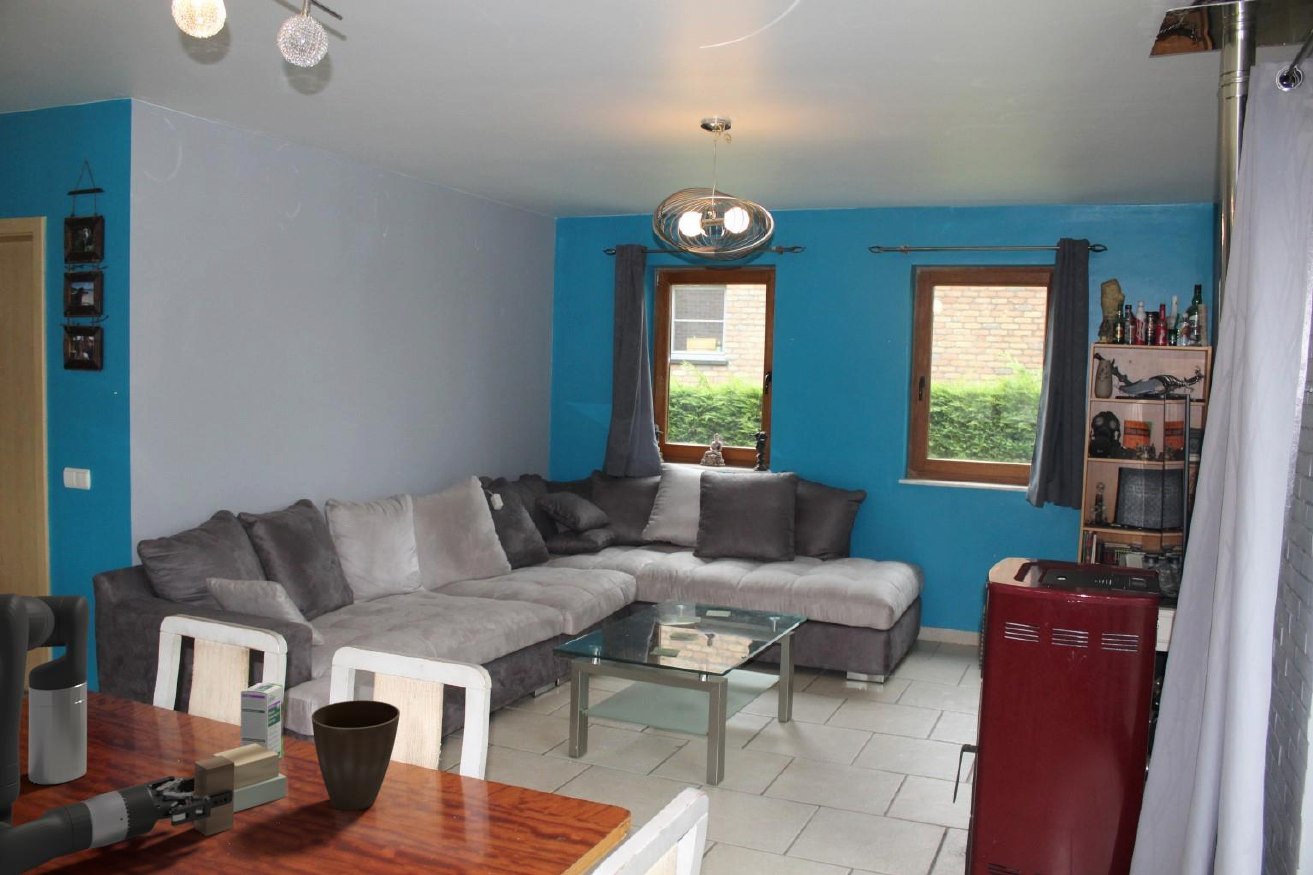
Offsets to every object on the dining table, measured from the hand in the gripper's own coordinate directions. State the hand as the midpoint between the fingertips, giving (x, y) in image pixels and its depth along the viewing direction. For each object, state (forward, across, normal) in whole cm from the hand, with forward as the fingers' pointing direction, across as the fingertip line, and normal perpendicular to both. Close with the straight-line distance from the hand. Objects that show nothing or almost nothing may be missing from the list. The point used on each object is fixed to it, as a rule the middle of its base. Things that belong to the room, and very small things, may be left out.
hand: (218, 787), depth 171 cm
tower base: (+9, +8, +7) cm, 14 cm away
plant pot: (+21, -7, +7) cm, 23 cm away
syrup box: (+19, +22, +7) cm, 30 cm away
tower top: (+9, +8, +3) cm, 13 cm away
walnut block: (-1, 0, +6) cm, 7 cm away
